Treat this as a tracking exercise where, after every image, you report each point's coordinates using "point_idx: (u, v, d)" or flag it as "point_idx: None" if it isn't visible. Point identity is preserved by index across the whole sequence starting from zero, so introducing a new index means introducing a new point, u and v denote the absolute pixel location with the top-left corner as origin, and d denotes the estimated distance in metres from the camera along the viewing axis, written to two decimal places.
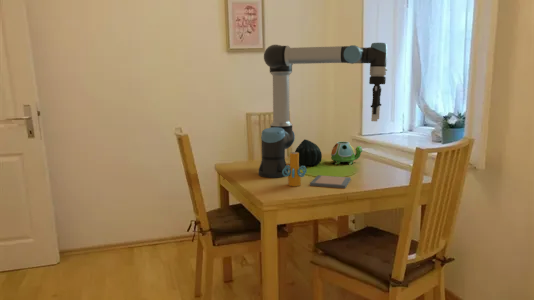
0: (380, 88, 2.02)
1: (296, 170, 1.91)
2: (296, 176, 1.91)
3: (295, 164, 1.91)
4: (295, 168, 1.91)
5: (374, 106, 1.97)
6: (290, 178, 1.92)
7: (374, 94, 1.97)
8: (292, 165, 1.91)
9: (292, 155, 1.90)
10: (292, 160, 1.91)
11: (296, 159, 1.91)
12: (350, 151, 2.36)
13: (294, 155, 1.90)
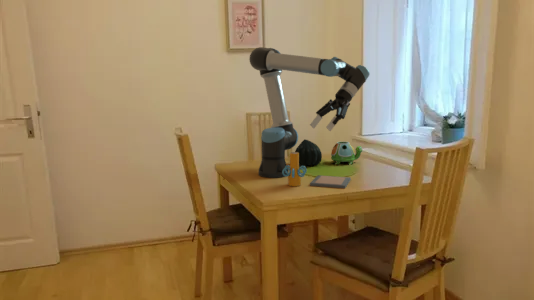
0: None
1: (296, 170, 1.91)
2: (296, 176, 1.91)
3: (295, 164, 1.91)
4: (295, 168, 1.91)
5: (340, 117, 1.89)
6: (290, 178, 1.92)
7: (345, 107, 1.91)
8: (292, 165, 1.91)
9: (292, 155, 1.90)
10: (292, 160, 1.91)
11: (296, 159, 1.91)
12: (350, 151, 2.36)
13: (294, 155, 1.90)
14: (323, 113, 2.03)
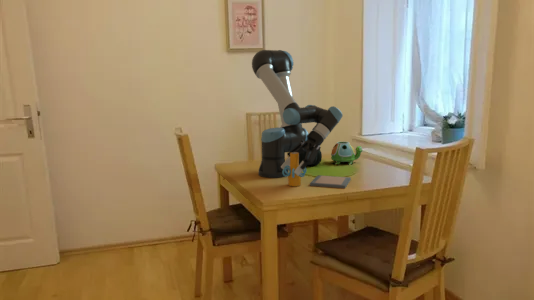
0: None
1: None
2: (296, 176, 1.91)
3: (295, 164, 1.91)
4: (295, 168, 1.91)
5: (308, 162, 1.86)
6: (290, 178, 1.92)
7: (314, 151, 1.88)
8: (292, 165, 1.91)
9: (292, 155, 1.90)
10: (292, 160, 1.91)
11: (296, 159, 1.90)
12: (350, 151, 2.36)
13: (294, 155, 1.90)
14: None
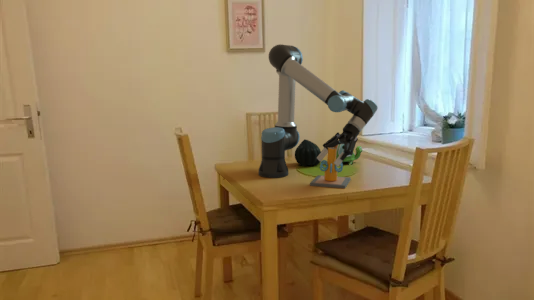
0: None
1: (333, 165, 1.94)
2: (333, 171, 1.94)
3: (333, 159, 1.94)
4: (333, 163, 1.94)
5: (348, 153, 1.88)
6: (327, 173, 1.95)
7: (353, 143, 1.90)
8: (330, 160, 1.94)
9: (330, 150, 1.93)
10: (330, 155, 1.94)
11: (334, 154, 1.93)
12: None
13: (333, 150, 1.93)
14: (330, 146, 2.02)
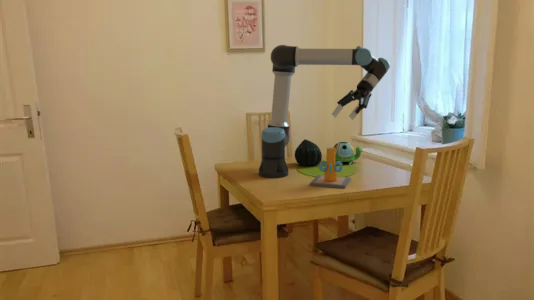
0: None
1: (333, 165, 1.95)
2: (333, 171, 1.94)
3: (332, 159, 1.94)
4: (332, 163, 1.94)
5: (363, 106, 1.97)
6: (327, 173, 1.95)
7: (367, 97, 2.00)
8: (329, 160, 1.94)
9: (329, 150, 1.93)
10: (329, 155, 1.94)
11: (333, 154, 1.94)
12: (350, 151, 2.36)
13: (331, 150, 1.93)
14: (344, 103, 2.11)
